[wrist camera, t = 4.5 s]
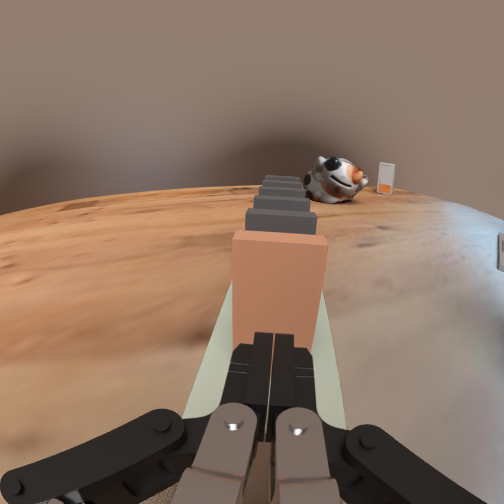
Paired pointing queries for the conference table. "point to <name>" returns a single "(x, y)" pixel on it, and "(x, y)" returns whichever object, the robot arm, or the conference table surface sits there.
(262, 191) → the domino
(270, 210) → the domino
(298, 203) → the domino
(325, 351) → the strip
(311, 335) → the domino
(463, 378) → the conference table surface
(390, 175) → the skincare box
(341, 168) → the lucky cat figurine
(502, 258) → the laptop
